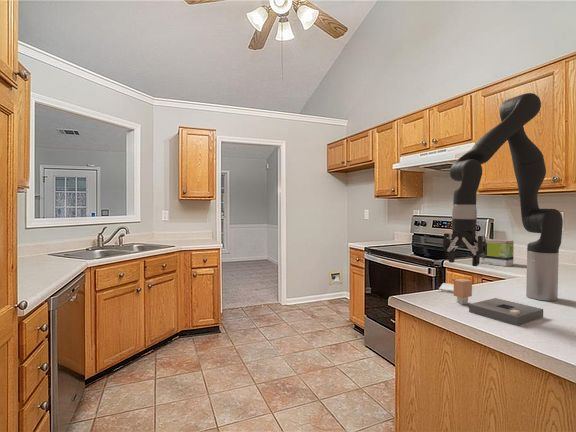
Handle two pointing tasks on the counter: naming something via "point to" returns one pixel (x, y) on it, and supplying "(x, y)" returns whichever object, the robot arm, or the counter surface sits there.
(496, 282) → the counter surface
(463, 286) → the plug
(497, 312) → the socket board
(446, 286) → the hard drive
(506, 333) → the counter surface
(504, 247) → the tea box
